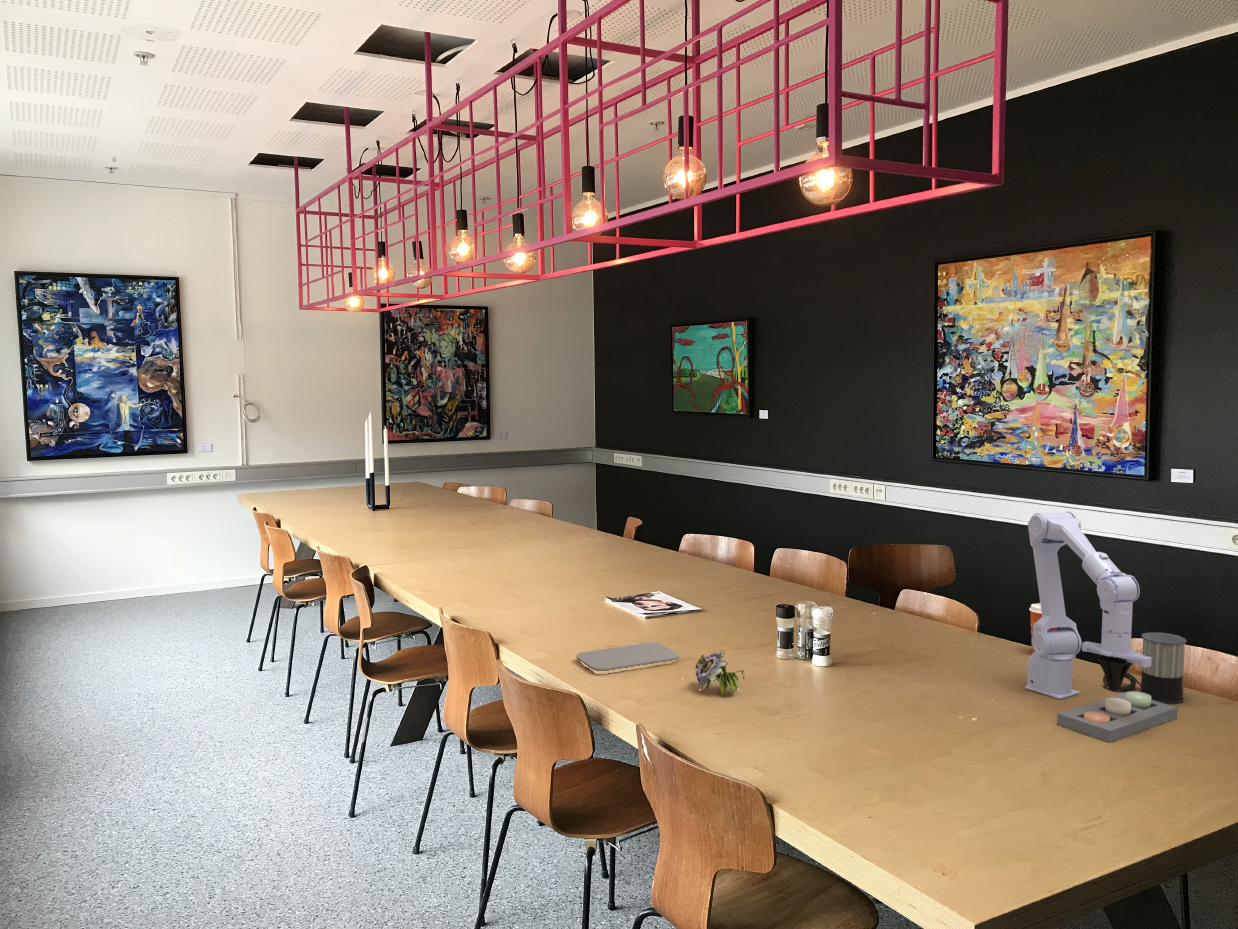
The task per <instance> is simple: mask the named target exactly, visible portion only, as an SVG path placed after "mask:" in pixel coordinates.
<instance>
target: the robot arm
mask: <svg viewBox="0 0 1238 929" xmlns="http://www.w3.org/2000/svg"><path fill="white" fill-rule="evenodd" d="M1081 523H1082V522H1081V520H1080V519H1079V518H1078V517H1077V515H1076V514H1075V513H1074V512H1073V511H1065V512H1042V513H1041V512H1035V513H1033V514H1032V515H1031V517H1030V519H1029V521H1028V522H1027V528H1028V535H1029V536H1028V537H1029V542H1030V543H1029V544H1030V546H1031V547H1032V550H1033V559H1034V565H1035V566H1034V567H1035V573H1036V580H1037V588H1038V595H1039V603H1040V604H1041V612H1042V618H1040V619H1039V620H1038V621H1037V622H1036V623H1035V624H1034V625H1033V637H1032V642H1031V646H1032V645H1033V648H1034V650H1035V652H1034V653H1033V654H1032V653H1031V655H1030V656H1029V658H1028V661H1027V684H1026V685H1025V686H1024V687H1025V689H1026V690H1029V691H1030V690H1031V691H1033V692H1036V693H1039V694H1043V695H1045V696H1050V697H1053V698H1055V699H1059V700H1061V699H1065V698H1068V697H1072V696H1075V695H1079V694H1080V691H1079V690H1076V689H1073V686H1072V685H1073V661H1074V659H1076V658H1077V657H1076V656H1077V654H1079V653H1080V651H1082V652H1089V653H1093V654H1097V655H1100V658H1098V660H1097V662H1098V663H1099V665H1100V667H1101V669H1102V670H1103V674H1104V675H1105V677H1106V680H1107V684H1108V687H1107V688H1108V691H1110V692H1113V693H1116V692H1119V691H1120V688H1121V686H1122V685H1123V681H1124V678H1125V675H1126V673H1128V672H1129V670H1130V668H1131V667H1132V665H1133V664H1134V665H1139V666H1141V668H1142V667H1150V666H1151V657H1148V656H1145V655H1142V653H1140V652H1137V651H1134V650H1132V626H1133V625H1132V624H1133V607H1134V606H1133V603H1134V602H1136V601H1137V600H1138V599H1139V597H1140V594H1141V593H1140V592H1141V591H1140V585H1139V583H1138V581H1137V580H1136V577H1135V576H1133V575H1131V574H1127V573H1125V572H1122V571H1121V570H1120V569H1119V568H1118V567H1117V565H1115V564H1114V561H1112V560H1111V559H1110V557H1109V555H1108V554H1107V553H1104V552H1102V551H1096V549H1095V548H1094V546H1093V545H1092V544H1091V542H1090V541H1089V539H1088V538H1087V537H1086V535H1085V534H1084V533H1083V531H1082V524H1081ZM1065 545H1067V546H1068V547H1069V548H1070V549H1071V550H1072V551H1073V552H1074V553H1075V554H1076V555H1077V556H1078V557H1079V558H1080V559H1081V560H1082V563H1081V567H1082V569H1083V570H1084V572H1085V573H1086V574H1087V576H1089V578H1090V579H1091V580H1092V581H1093V582H1094V584H1095V585H1096V586H1097V587H1096V592H1097V596H1098V598H1099V606H1100V609H1102V617H1101V618H1102V620H1101V643H1099V642H1098V643H1097V642H1093V641H1092V642H1091V641H1084V642H1082V638H1081V636H1080V634H1079V631H1078V629H1077V623H1076V622H1075V621H1073V620H1072V619H1070V618H1069V617H1068V616H1067V615H1066V607H1065V599H1064V592H1063V586H1062V578H1061V569H1060V564H1059V556H1058V551H1059V550H1060V548H1061V547H1063V546H1065ZM1050 628H1057V630H1048V629H1050ZM1058 628H1059V629H1058ZM1120 692H1121V691H1120Z"/></svg>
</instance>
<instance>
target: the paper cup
mask: <svg viewBox="0 0 1238 929" xmlns="http://www.w3.org/2000/svg"><path fill="white" fill-rule="evenodd" d="M1029 612H1030V635H1031V637H1030V639H1031V640H1030V641H1031V643H1032V637H1033V625H1034V624H1035V623H1036V622H1037V621H1038V620H1039V619H1040V618H1042V612H1041V604H1040V602H1039V603H1032V604H1031V605H1030V607H1029ZM1048 630H1058V628H1050V629H1048ZM1034 652H1035V650H1034V648H1033V645H1032V644H1031V655H1032V654H1033V653H1034Z"/></svg>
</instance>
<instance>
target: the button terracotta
mask: <svg viewBox="0 0 1238 929" xmlns="http://www.w3.org/2000/svg"><path fill="white" fill-rule="evenodd" d="M1084 719H1087V720H1090V721H1093V722H1096V723H1099V724H1104V723H1107V722H1110V716H1108V715H1107V714H1104V713H1100V712H1093V711H1090V712H1085V713H1084Z"/></svg>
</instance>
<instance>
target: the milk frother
mask: <svg viewBox="0 0 1238 929" xmlns="http://www.w3.org/2000/svg"><path fill="white" fill-rule="evenodd" d="M1141 637H1142V653H1141V654H1142V655H1145V656H1148V657H1151V666H1150V667H1142V666H1141V677H1140V678H1141V679H1140V681H1139V680H1138V679H1137V678H1136V677H1135V676H1134V675H1133V674H1131V673H1130V672H1127V673H1126V675H1125V677H1124V678H1126V679H1127V680H1128V681H1129V682H1130V683H1129V684H1127V685H1121V688H1120V692H1130V691H1132V690H1134V689H1135V687H1136V686H1137V684H1138V685H1139V686H1140V690H1139V692H1142V693H1146V694H1149V695H1150V696H1151V700H1154V701H1157V702H1161V703H1164V704H1168V705H1171V704H1181V703H1183V702H1184V701H1185V698H1184V669H1185V649H1186V648H1185V647H1186V646H1185V644H1186V643H1187V639H1186V638H1185V637H1182V636H1181V635H1180V636H1179V635H1177V634H1172V633H1166V632H1145V633H1144V632H1143V633H1142V634H1141ZM1102 683H1103V684H1104V685H1105V686H1106V687H1107V688H1108V684H1107V680H1106V677H1105V674H1104V675H1103V677H1102Z"/></svg>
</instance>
